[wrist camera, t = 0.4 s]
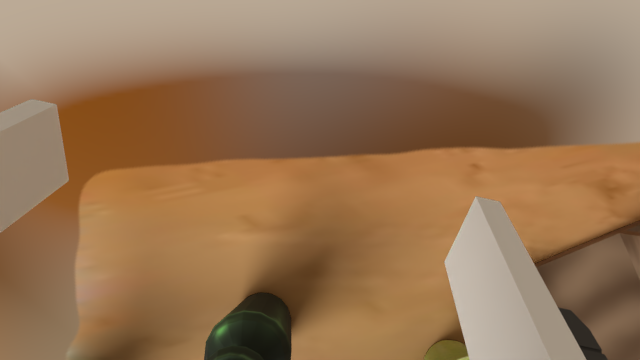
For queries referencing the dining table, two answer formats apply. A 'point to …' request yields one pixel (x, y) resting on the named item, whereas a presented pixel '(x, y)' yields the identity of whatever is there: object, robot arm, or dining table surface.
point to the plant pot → (447, 351)
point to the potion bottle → (252, 331)
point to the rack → (601, 288)
